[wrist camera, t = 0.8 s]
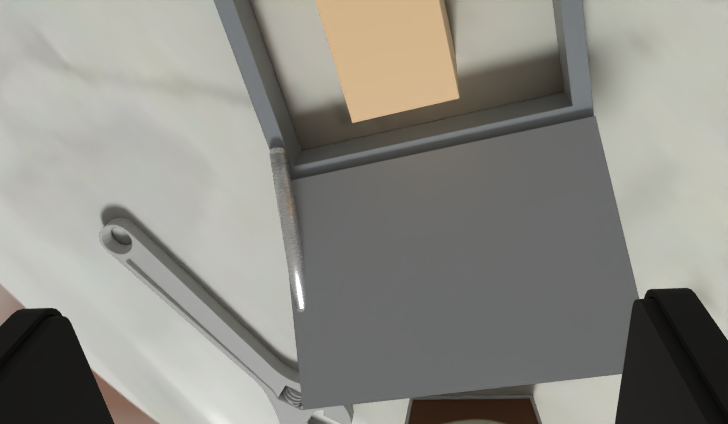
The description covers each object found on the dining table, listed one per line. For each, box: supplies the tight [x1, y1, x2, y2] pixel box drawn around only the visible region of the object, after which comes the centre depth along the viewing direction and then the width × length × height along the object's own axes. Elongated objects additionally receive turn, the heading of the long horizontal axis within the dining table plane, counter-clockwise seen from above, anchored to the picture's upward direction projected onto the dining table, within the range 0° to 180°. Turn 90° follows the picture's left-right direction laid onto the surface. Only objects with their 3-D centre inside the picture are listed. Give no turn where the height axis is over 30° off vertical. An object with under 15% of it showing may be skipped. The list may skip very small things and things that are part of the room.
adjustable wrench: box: [99, 218, 354, 424], centre depth 44 cm, size 25×6×2 cm, turn 36°
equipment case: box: [214, 0, 639, 410], centre depth 29 cm, size 18×27×11 cm, turn 16°
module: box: [316, 0, 459, 123], centre depth 28 cm, size 5×8×8 cm, turn 16°
